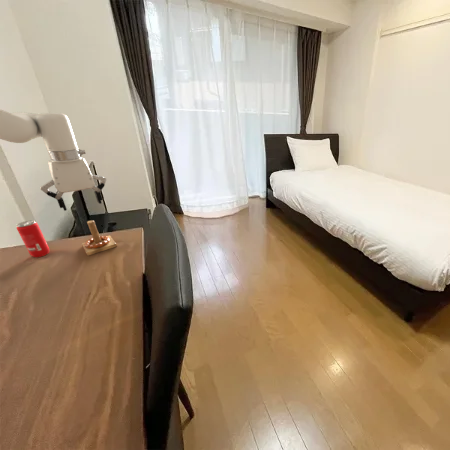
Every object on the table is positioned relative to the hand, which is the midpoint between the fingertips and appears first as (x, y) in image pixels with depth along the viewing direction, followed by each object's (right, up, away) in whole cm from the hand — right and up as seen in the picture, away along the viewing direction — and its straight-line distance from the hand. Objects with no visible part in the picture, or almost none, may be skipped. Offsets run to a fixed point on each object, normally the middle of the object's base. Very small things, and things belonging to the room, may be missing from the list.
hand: (82, 205), depth 93 cm
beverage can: (-17, -17, +3) cm, 24 cm away
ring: (0, -13, +6) cm, 14 cm away
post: (0, -14, +7) cm, 16 cm away
